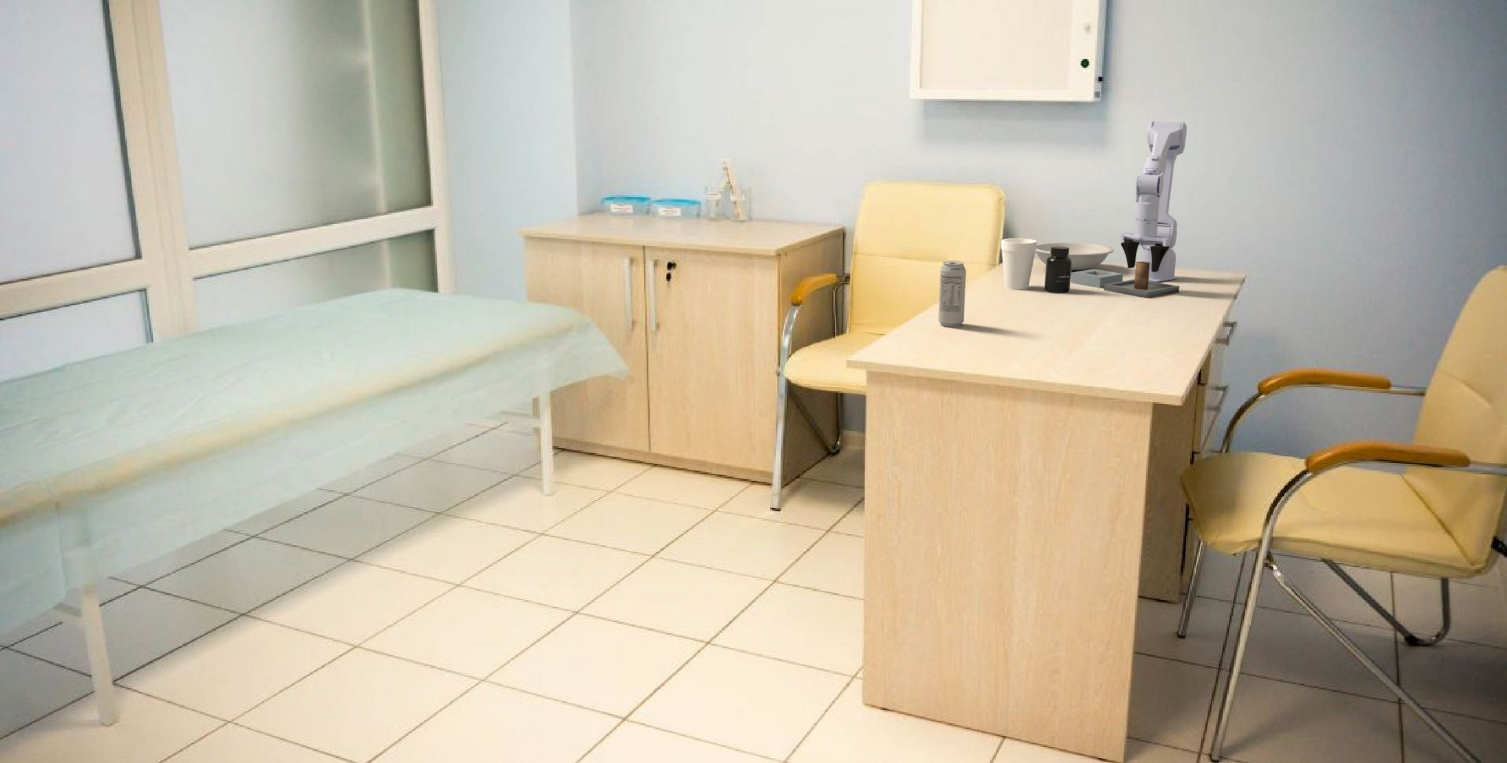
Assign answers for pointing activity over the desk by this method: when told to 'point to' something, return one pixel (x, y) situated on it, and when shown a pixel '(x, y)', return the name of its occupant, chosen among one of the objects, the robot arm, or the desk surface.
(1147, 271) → the dowel
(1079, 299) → the desk surface
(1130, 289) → the tray
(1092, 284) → the square hole block
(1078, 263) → the soup bowl
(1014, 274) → the foam cup
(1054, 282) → the supplement bottle
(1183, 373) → the desk surface
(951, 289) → the energy drink can
